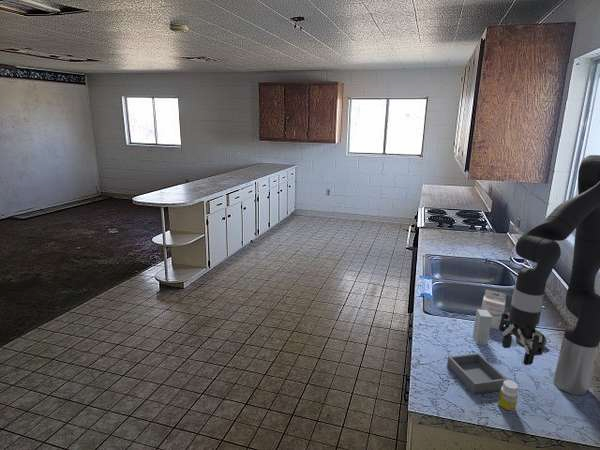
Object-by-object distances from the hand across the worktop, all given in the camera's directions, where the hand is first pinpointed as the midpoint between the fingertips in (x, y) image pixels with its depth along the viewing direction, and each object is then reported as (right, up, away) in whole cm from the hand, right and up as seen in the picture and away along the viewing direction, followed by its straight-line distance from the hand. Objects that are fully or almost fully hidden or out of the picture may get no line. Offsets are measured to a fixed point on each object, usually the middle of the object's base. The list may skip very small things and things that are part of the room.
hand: (516, 355), depth 117 cm
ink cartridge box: (+17, -5, +53) cm, 56 cm away
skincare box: (+8, -8, +41) cm, 43 cm away
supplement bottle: (0, -18, +5) cm, 18 cm away
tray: (-4, -13, +18) cm, 23 cm away
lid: (+27, -8, +40) cm, 49 cm away
